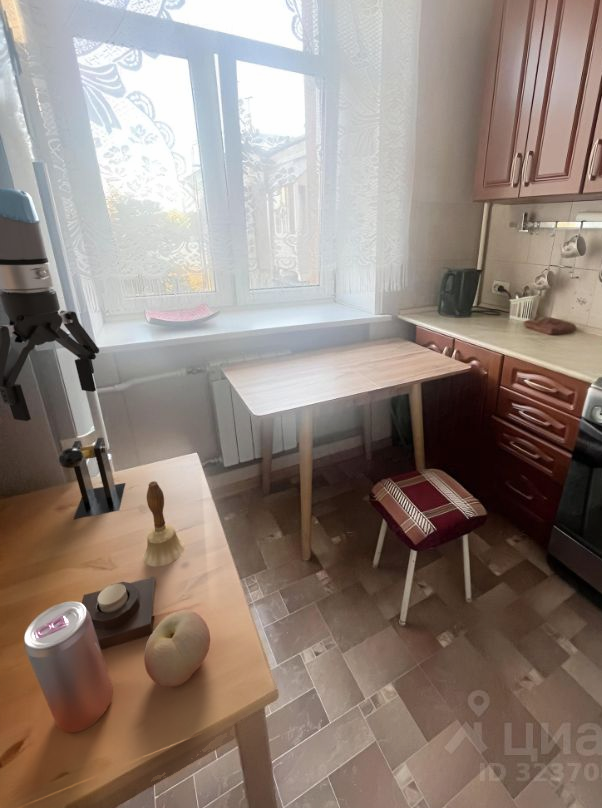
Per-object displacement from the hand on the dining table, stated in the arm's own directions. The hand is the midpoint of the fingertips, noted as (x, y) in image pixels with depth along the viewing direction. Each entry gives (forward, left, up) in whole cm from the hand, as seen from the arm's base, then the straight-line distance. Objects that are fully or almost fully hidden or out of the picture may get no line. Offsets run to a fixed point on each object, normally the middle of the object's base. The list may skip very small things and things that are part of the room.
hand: (58, 403), depth 74 cm
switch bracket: (+3, 0, -24) cm, 24 cm away
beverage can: (+8, -43, -24) cm, 50 cm away
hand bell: (+16, -20, -24) cm, 35 cm away
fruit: (+19, -42, -24) cm, 52 cm away
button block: (+10, -31, -24) cm, 41 cm away
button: (+10, -31, -21) cm, 39 cm away
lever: (+3, -6, -10) cm, 12 cm away
